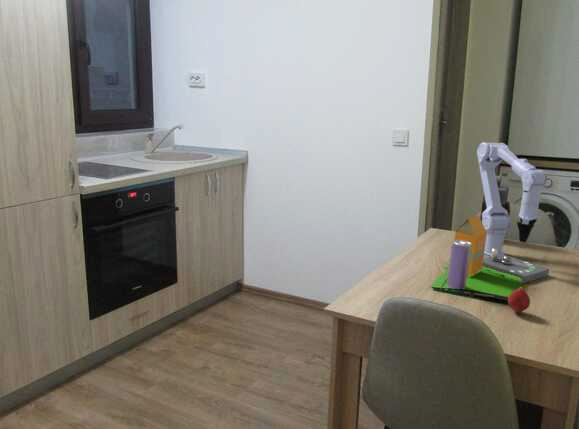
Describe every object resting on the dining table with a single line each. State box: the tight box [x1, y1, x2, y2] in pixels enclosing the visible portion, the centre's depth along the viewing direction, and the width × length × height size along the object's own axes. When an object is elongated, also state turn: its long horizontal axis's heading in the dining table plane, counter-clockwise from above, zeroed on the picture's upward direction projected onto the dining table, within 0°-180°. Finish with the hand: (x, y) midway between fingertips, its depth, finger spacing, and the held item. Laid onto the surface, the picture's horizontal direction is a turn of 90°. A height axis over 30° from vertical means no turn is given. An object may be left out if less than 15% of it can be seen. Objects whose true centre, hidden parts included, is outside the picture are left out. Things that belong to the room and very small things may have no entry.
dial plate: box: [482, 254, 550, 284], centre depth 189 cm, size 19×16×3 cm
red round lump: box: [507, 286, 531, 314], centre depth 152 cm, size 6×6×8 cm
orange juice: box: [454, 214, 487, 275], centre depth 184 cm, size 8×9×20 cm
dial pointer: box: [491, 248, 532, 268], centre depth 188 cm, size 14×4×4 cm, turn 55°
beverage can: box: [446, 239, 472, 291], centre depth 169 cm, size 6×6×15 cm
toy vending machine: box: [479, 175, 512, 221], centre depth 226 cm, size 9×11×28 cm
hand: (523, 239), depth 193 cm, fingers open, 7 cm apart
